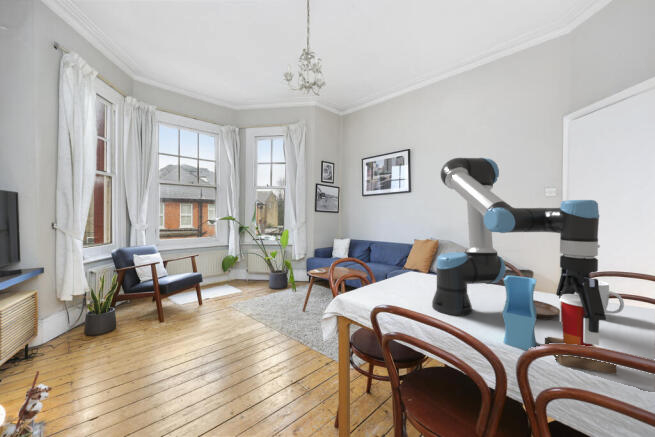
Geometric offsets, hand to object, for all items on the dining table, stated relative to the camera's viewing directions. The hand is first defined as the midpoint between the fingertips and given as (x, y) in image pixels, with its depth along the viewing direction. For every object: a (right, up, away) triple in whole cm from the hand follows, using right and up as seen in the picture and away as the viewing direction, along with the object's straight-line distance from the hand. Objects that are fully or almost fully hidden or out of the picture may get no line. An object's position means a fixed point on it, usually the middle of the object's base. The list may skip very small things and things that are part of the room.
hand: (577, 332), depth 72 cm
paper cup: (0, -5, 0) cm, 5 cm away
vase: (-10, -7, +9) cm, 15 cm away
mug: (+35, -7, +31) cm, 47 cm away
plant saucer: (+14, -7, +34) cm, 37 cm away
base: (0, -7, 0) cm, 7 cm away
